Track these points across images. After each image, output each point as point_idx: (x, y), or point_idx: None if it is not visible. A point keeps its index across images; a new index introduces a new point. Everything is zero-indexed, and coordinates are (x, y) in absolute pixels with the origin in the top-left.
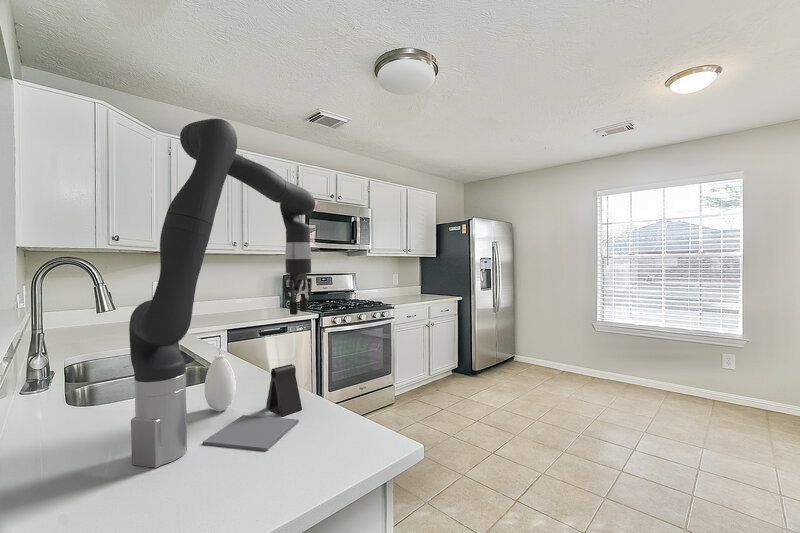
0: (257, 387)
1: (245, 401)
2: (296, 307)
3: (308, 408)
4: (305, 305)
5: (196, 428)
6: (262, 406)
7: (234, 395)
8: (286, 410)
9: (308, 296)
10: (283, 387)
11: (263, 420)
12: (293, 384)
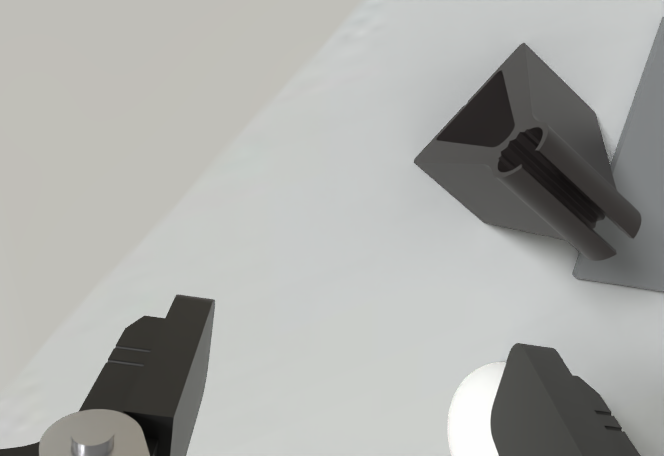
0: (217, 352)
1: (398, 332)
2: (593, 409)
3: (503, 15)
4: (197, 364)
5: (650, 384)
6: (461, 242)
7: (500, 371)
8: (583, 104)
9: (43, 450)
10: (590, 153)
11: (650, 174)
12: (547, 112)
